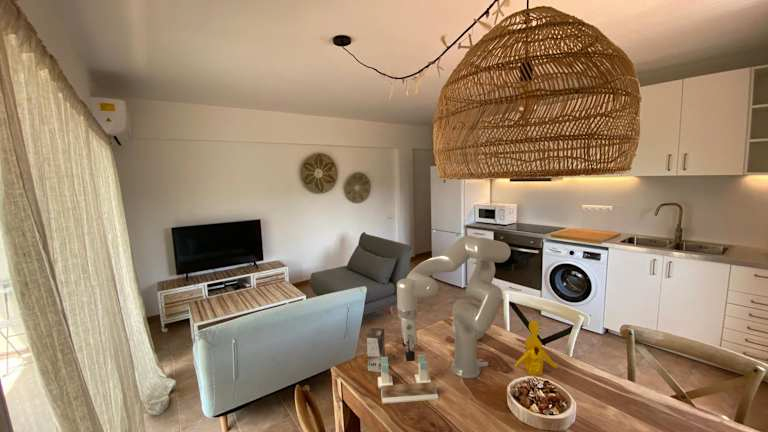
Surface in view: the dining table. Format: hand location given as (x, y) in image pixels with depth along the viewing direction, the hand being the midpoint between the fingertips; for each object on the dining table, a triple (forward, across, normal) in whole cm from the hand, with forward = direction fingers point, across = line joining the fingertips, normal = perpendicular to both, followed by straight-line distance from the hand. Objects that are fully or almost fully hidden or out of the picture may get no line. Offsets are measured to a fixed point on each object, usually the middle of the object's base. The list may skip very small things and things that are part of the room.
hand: (408, 352), depth 121 cm
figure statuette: (+19, +9, -56) cm, 59 cm away
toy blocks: (+18, +8, -7) cm, 21 cm away
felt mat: (+18, 0, 0) cm, 18 cm away
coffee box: (+18, +20, +12) cm, 30 cm away
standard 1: (+18, +8, +9) cm, 22 cm away
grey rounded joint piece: (+19, +39, -37) cm, 57 cm away
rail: (+18, 0, 0) cm, 18 cm away
